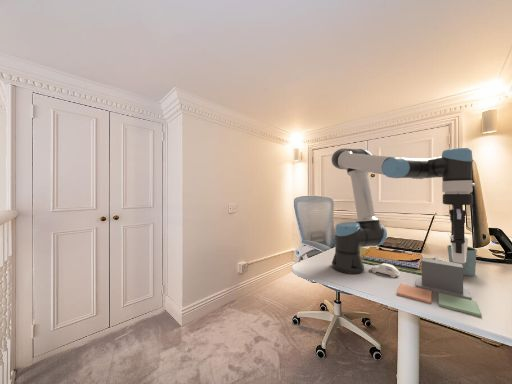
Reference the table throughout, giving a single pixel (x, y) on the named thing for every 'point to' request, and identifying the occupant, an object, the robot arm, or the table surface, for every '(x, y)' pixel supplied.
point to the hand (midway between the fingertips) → (457, 260)
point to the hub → (443, 278)
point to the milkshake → (464, 247)
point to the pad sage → (459, 304)
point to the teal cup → (470, 262)
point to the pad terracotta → (415, 293)
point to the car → (385, 269)
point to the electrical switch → (435, 258)
